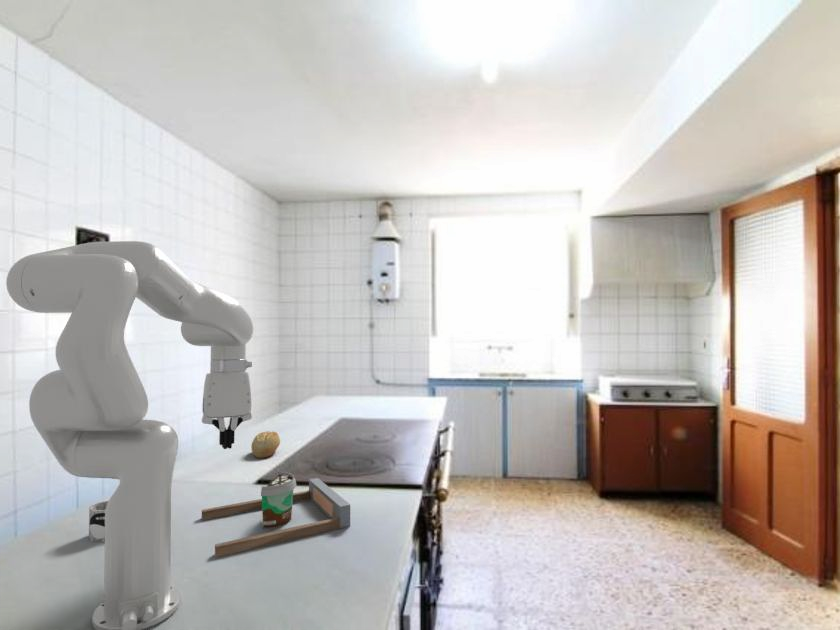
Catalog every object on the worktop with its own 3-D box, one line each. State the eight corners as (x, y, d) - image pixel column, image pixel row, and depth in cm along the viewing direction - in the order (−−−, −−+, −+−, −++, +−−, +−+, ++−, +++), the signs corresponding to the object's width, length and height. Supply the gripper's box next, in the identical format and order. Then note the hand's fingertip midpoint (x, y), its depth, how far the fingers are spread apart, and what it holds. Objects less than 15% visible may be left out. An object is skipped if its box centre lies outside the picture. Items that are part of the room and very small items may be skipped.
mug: (83, 543, 106) (84, 512, 106) (95, 530, 112) (95, 501, 112) (135, 537, 108) (135, 507, 108) (143, 525, 115) (144, 497, 115)
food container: (286, 531, 111) (286, 487, 111) (260, 531, 112) (260, 487, 112) (302, 510, 124) (302, 471, 124) (278, 510, 124) (279, 471, 124)
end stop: (350, 525, 114) (350, 504, 114) (339, 528, 113) (339, 506, 113) (317, 495, 134) (317, 477, 134) (307, 497, 133) (307, 479, 133)
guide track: (340, 528, 113) (340, 519, 113) (216, 556, 99) (216, 547, 99) (308, 497, 133) (308, 490, 133) (201, 518, 119) (201, 509, 119)
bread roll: (282, 448, 186) (282, 427, 186) (276, 459, 171) (276, 436, 171) (256, 449, 184) (257, 427, 184) (248, 460, 170) (248, 437, 170)
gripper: (257, 365, 119) (256, 440, 118) (190, 367, 111) (189, 448, 110) (265, 367, 112) (264, 447, 112) (194, 369, 105) (192, 455, 104)
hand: (226, 447), depth 111 cm, fingers closed
